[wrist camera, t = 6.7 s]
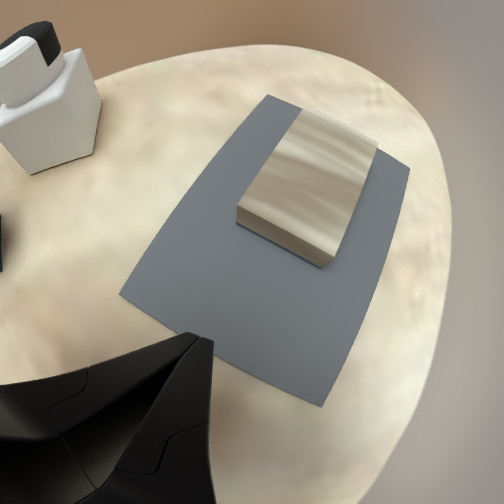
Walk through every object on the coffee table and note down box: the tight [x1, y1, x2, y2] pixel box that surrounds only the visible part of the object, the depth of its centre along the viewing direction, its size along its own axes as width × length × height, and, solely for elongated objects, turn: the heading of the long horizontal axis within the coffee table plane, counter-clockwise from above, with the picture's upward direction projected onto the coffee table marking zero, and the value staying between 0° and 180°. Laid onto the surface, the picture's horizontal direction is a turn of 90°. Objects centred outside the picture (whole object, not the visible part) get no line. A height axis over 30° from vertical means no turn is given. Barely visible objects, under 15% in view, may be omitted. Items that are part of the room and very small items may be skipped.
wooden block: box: [236, 105, 378, 269], centre depth 18 cm, size 3×6×10 cm
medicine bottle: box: [0, 21, 102, 175], centre depth 15 cm, size 7×7×12 cm
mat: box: [119, 94, 410, 407], centre depth 19 cm, size 20×14×1 cm
